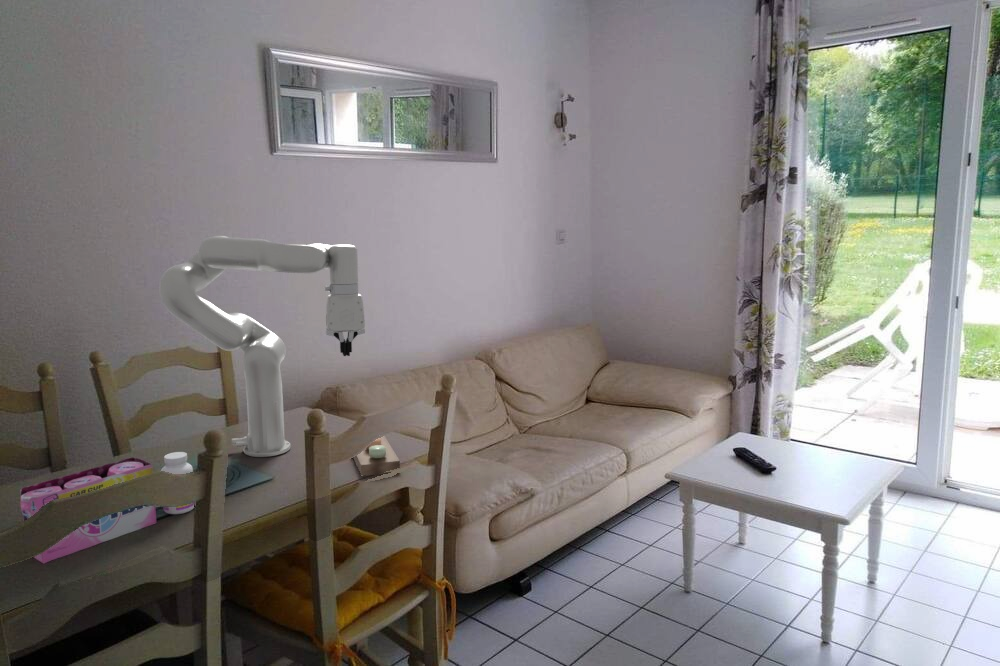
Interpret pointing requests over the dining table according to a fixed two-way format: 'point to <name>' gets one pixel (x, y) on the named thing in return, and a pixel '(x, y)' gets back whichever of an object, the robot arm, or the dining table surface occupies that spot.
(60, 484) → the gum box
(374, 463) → the button panel
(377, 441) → the terracotta button
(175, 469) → the supplement bottle
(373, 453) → the sage green button
